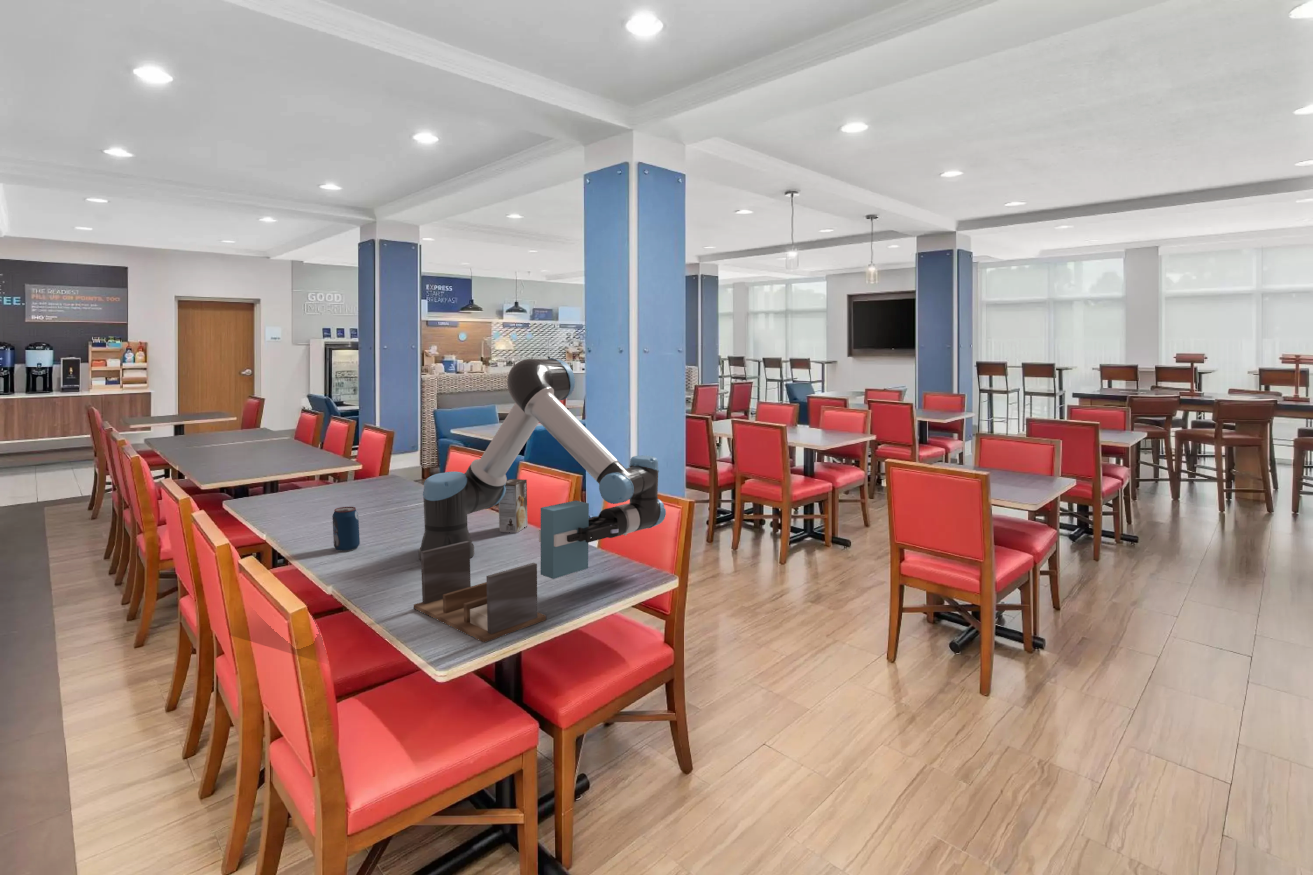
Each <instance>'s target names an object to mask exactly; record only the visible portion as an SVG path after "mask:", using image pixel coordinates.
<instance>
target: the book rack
mask: <svg viewBox="0 0 1313 875" xmlns="http://www.w3.org/2000/svg"><path fill="white" fill-rule="evenodd" d="M420 561H421V562H420V564H421V565H420V567H421V568H420V569H421V596H422V597H421V598H422V599H421V600H422V601H421V602H418V603H415V604H413V609H414V608H415V609H417V610H419V611H421V612H423V613H425V614H427V615H426V616H428V615H429V616H428V617H430V616H431V617H430V618H432V617H433V618H432V619H434V618H436V619H438V620H439V621H438V620H437V621H438V622H440V621H441V622H440V623H442V622H444V623H446V624H447V625H446V624H445V625H446V626H448V625H450V626H449V627H451V626H452V627H451V628H453V627H454V628H453V629H455V630H457V629H458V630H457V631H459V630H460V631H459V632H461V631H462V632H461V633H463V632H464V633H463V634H465V633H466V634H465V635H467V634H468V636H469V635H470V637H471V636H473V637H475V638H474V639H475V640H478V639H479V640H478V641H480V642H481V643H482V642H483V643H486V642H490V641H493V640H494V639H497V638H500V636H501V637H503V636H505V634H506V635H508V633H509V634H511V633H514V632H517V631H519V629H520V630H523V629H525V628H528V627H531V626H532V625H536V624H538V623H541V622H544V621H546V620H547V616H546V614H543V613H541V612H539V611H538V564H537V563H536V562H530V563H528V564H523V565H520V566H517V567H513V568H510V569H505V570H502V571H499V572H496V573H493V574H492V573H491V574H488V575H486V581H485V582H481V583H478V584H474V585H472V584H471V558H470V542H468V541H465V542H460V543H456V544H452V545H447V546H443V547H439V548H434V549H430V550H426V551H421V560H420ZM415 609H414V610H415ZM417 610H416V611H417ZM419 611H418V612H419ZM421 612H420V613H421ZM423 613H422V614H423ZM425 614H424V615H425ZM436 619H435V620H436ZM444 623H443V624H444ZM516 630H517V631H516ZM473 637H472V638H473Z"/></svg>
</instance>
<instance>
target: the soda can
mask: <svg viewBox="0 0 1313 875" xmlns="http://www.w3.org/2000/svg"><path fill="white" fill-rule="evenodd" d="M333 511H334V512H333V513H332V533H333V534H332V536H333V547H334V549H336V551H338V552H351V551H355V550H357V549H358V548H359V546H360V545H361V540H360V521H359V513H358V511H357V508H356V507H354V506H341V507H336V508H335V509H334V510H333Z"/></svg>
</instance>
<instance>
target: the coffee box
mask: <svg viewBox="0 0 1313 875" xmlns="http://www.w3.org/2000/svg"><path fill="white" fill-rule="evenodd" d="M527 482H528V479H523V478H522V479H521V478H519V479H517V478H509V479H507V481H506V485H505V488H506V491H505V495H504V497H503V498H502V500H501V501H500V502H499V503H498V524H499V525H498V528H499V530H498V532H499V533H509V532H510V533H511V534H518V533H519V532H520V531H522V530H524V529H525V528H527V527H528V525H529V524H528V488H527V487H528V483H527ZM526 526H527V527H526ZM524 527H525V528H524ZM517 532H518V533H517ZM510 533H509V534H510Z"/></svg>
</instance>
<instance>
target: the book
mask: <svg viewBox="0 0 1313 875" xmlns="http://www.w3.org/2000/svg"><path fill="white" fill-rule="evenodd" d="M589 509H590V506H589V502H586V501H585V502H584V501H580V500H572V501H571V500H570V501H568V502H562V503H557V504H553V505H551V504H550V505H547V506H543V507H540V530H541V542H540V575H541V576H543V577H547V578H549V579H552V580H555V579H557V578H561V577H564V576H567V575H570V574H573V573H577V572H580V571H583V570H586V569H587V570H588V569H589V543H587V542H585V540H584V541H581V542H580V541H578V540H577V541H576V542H573V543H569V544H565V545H561V546H558V547H554V535H555V534H559V533H563V532H567V531H571V530H577V533H578V527H579V528H586V527H589V518H590V514H589V513H590V512H589V511H590V510H589Z"/></svg>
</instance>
